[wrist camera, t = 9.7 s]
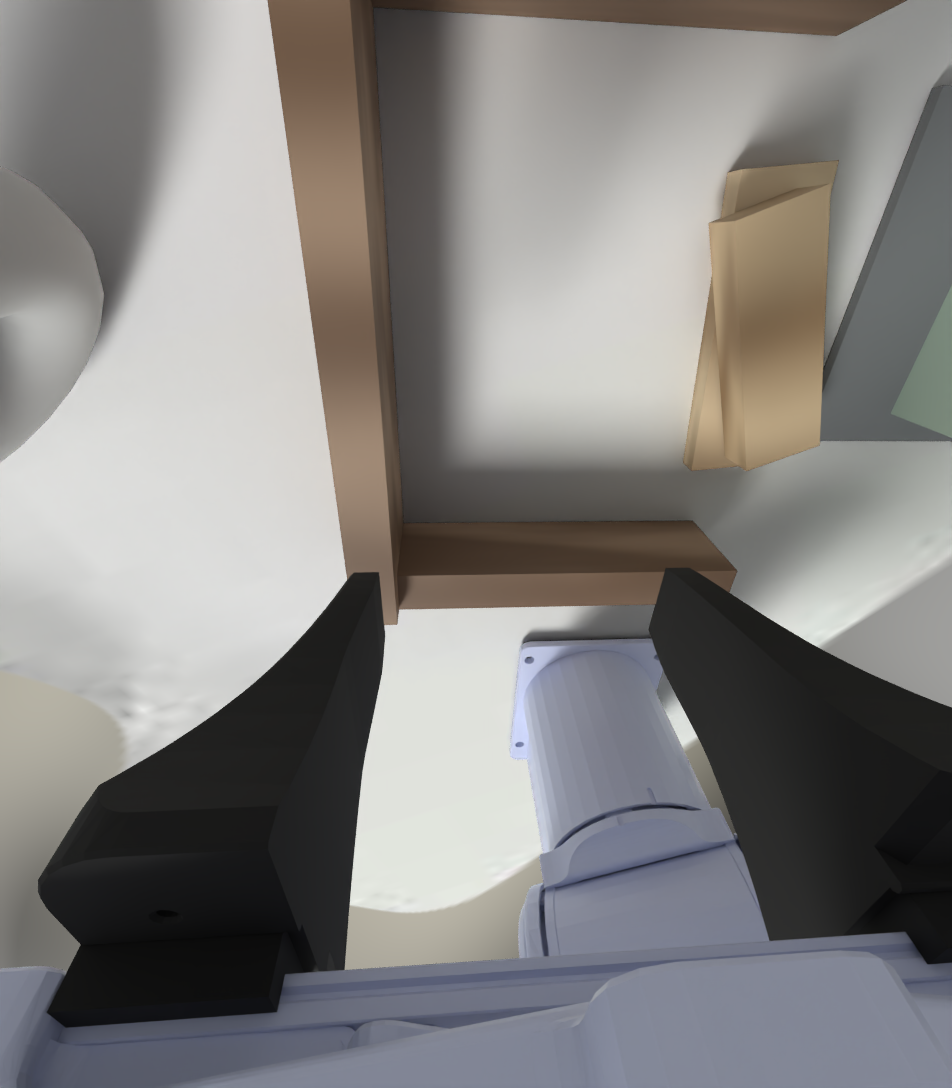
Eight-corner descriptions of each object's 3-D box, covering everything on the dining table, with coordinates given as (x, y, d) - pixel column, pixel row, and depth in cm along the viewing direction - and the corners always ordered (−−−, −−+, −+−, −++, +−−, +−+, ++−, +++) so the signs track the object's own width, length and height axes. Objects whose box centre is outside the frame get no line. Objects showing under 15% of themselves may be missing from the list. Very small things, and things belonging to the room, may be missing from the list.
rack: (683, 550, 24) (737, 619, 19) (369, 554, 23) (353, 627, 18) (860, -47, 13) (1056, -177, 9) (302, -88, 12) (232, -256, 8)
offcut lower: (744, 450, 22) (763, 463, 20) (676, 457, 22) (691, 471, 20) (808, 166, 16) (839, 160, 15) (718, 174, 16) (741, 169, 15)
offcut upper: (793, 432, 20) (819, 445, 18) (725, 456, 20) (746, 471, 19) (796, 188, 15) (831, 183, 14) (708, 223, 16) (735, 221, 14)
